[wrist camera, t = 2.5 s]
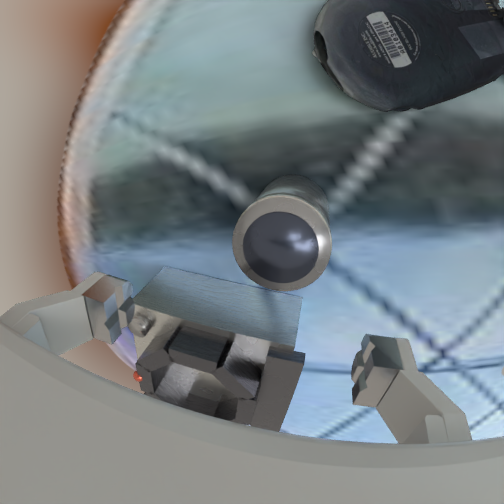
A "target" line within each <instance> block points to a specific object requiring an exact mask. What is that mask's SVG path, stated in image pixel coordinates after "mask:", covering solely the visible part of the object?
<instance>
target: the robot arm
mask: <svg viewBox="0 0 504 504" xmlns="http://www.w3.org/2000/svg"><path fill="white" fill-rule="evenodd" d="M132 293H133V287H132V283H131V282H130V281H127V280H123V279H120V278H117V277H114V276H111V275H107V274H104V273H101V272H94V273H93V274H91V275H90V276H89V277H87V278H86V279H85V280H84V281H82V282H81V283H80V284H79V285H77V286H76V287H75V288H74V289H72V290H71V291H68V290H66V291H63V292H59V293H55V294H51V295H48V296H44V297H40V298H36V299H32V300H29V301H25V302H21V303H18V304H15V305H14V306H13V307H12V308H10V309H9V310H8V311H7V312H6V313H4V314H3V315H2V316H1V317H0V504H504V436H502V437H495V438H488V439H480V440H472V437H471V433H470V430H469V426H468V423H467V419H466V416H465V413H464V412H463V411H462V410H461V409H460V408H459V407H458V406H457V405H455V404H454V403H453V402H452V401H451V400H450V399H449V398H448V397H447V396H446V395H445V394H444V393H443V392H442V391H441V390H440V389H439V388H438V387H437V386H436V385H435V384H434V383H433V382H432V381H431V380H430V379H429V378H428V377H427V376H426V375H424V374H423V373H422V372H418V369H417V365H416V362H415V359H414V355H413V352H412V349H411V346H410V343H409V340H408V339H404V338H395V337H394V338H391V337H384V336H377V335H371V334H366V335H365V336H364V338H363V340H362V342H361V346H362V350H361V351H359V352H358V353H357V354H356V356H355V359H354V361H353V365H352V372H351V377H352V380H353V382H354V383H355V385H354V387H353V388H352V398H353V405H361V406H368V407H377V408H376V409H377V411H378V412H379V414H380V415H381V417H382V418H383V420H384V421H385V423H386V425H387V426H388V428H389V429H390V431H391V432H392V434H393V435H394V437H395V438H396V440H397V441H398V443H399V444H388V443H366V442H352V441H341V440H331V439H323V438H315V437H308V436H301V435H295V434H289V433H283V432H277V431H272V430H267V429H262V428H257V427H253V426H248V425H244V424H240V423H235V422H231V421H227V420H223V419H220V418H216V417H212V416H209V415H205V414H202V413H198V412H195V411H192V410H188V409H185V408H182V407H179V406H176V405H173V404H170V403H167V402H164V401H161V400H158V399H155V398H153V397H150V396H147V395H145V394H142V393H139V392H137V391H134V390H131V389H129V388H127V387H124V386H122V385H119V384H117V383H114V382H112V381H110V380H108V379H105V378H103V377H101V376H99V375H96V374H94V373H92V372H90V371H88V370H86V369H84V368H82V367H80V366H78V365H75V364H73V363H71V362H69V361H67V360H65V359H64V358H62V357H60V356H58V355H60V354H63V353H65V352H67V351H69V350H71V349H73V348H75V347H77V346H79V345H81V344H83V343H86V342H88V341H90V340H92V339H93V338H95V339H98V340H101V341H104V342H106V343H109V344H113V343H114V342H115V341H116V339H117V338H118V337H119V336H120V335H121V328H124V327H127V326H128V325H129V324H130V323H131V321H132V319H133V316H134V312H135V304H134V301H133V300H132V298H131V297H130V296H131V294H132Z"/></svg>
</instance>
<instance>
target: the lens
mask: <svg viewBox="0 0 504 504" xmlns="http://www.w3.org/2000/svg"><path fill="white" fill-rule="evenodd" d="M232 246H233V252H234V256H235V259H236V261H237V263H238V265H239V267H240V268H241V270H242V271H243V272H244V273H245V274H246V276H248V277H249V278H250V279H251V280H252V281H254V282H255V283H257V284H259V285H260V286H263V287H265V288H268V289H271V290H276V291H293V290H298V289H301V288H303V287H306V286H308V285H309V284H311V283H313V282H314V281H315V280H316V279H318V278H319V276H320V275H321V274H322V273H323V271H324V270H325V268H326V266H327V264H328V262H329V259H330V255H331V249H332V238H331V230H330V218H329V205H328V200H327V197H326V195H325V193H324V191H323V190H322V189H321V187H320V186H319V185H318V184H317V183H315V182H314V181H313V180H311V179H309V178H307V177H304V176H301V175H285V176H281V177H279V178H277V179H275V180H273V181H272V182H271V183H270V184H269V185H268V186H267V187H266V188H265V189H264V190H263V191H262V193H261V194H260V195H259V196H258V197H257V198H256V200H255V201H254V202H253V203H252V204H251V205H250V206H249V207H248V208H247V209H246V210H245V211H244V212H243V214H242V215H241V217H240V218H239V220H238V222H237V224H236V226H235V229H234V232H233V238H232Z"/></svg>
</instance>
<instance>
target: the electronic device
mask: <svg viewBox="0 0 504 504" xmlns="http://www.w3.org/2000/svg"><path fill="white" fill-rule="evenodd" d="M498 3H499V0H328V1H327V3H326V4H324V6H323V8H322V9H321V11H320V13H319V14H318V17H317V19H316V22H315V27H314V45H315V47H314V50H313V53H312V54H313V55H314V56H315V57H317V58H318V60H319V61H320V63H321V64H322V66H323V68H324V69H325V71H326V72H327V74H328V75H329V76H330V78H331V79H332V80H333V82H334V83H335V84H336V86H337V87H339V88H340V89H341V90H342V91H343V92H344V93H346V94H347V95H348V96H350V97H352V98H354V99H355V100H357V101H359V102H361V103H363V104H365V105H367V106H369V107H371V108H374V109H377V110H380V111H385V112H388V111H390V110H396V111H406V110H409V109H410V108H414V109H423V108H425V107H428V106H432V105H435V104H438V103H441V102H444V101H447V100H450V99H453V98H456V97H458V96H461V95H463V94H466V93H468V92H471V91H473V90H475V89H477V88H480V87H482V86H484V85H486V84H488V83H490V82H492V81H495V80H496V79H497V78H498V77H499V76H501V75H502V74H504V8H503V7H502V9H501V8H500V6H499V5H498ZM325 44H326V48H327V51H326V49H325Z"/></svg>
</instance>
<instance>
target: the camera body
mask: <svg viewBox="0 0 504 504" xmlns="http://www.w3.org/2000/svg"><path fill="white" fill-rule="evenodd" d="M302 298H303V297H299V296H294V295H289V294H284V293H280V292H275V291H270V290H266V289H261V288H257V287H252V286H248V285H243V284H239V283H234V282H230V281H226V280H221V279H217V278H213V277H208V276H204V275H200V274H196V273H191V272H187V271H183V270H179V269H175V268H171V267H167V266H165V267H164V268H163V269H162V270H161V271H160V272H159V273H158V274H157V275H156V276H155V277H154V278H153V279H152V280H151V281H150V282H149V283H148V284H147V285H146V286H145V287H144V288H143V289H142V290H141V291H140V292H139V293H138V294H137V295H136V296H135V297H134V298H133V299H132V300H133V301H134V304H135V312H134V316H133V319H132V321H131V323H130V324H129V325H128V327H129V329H130V331H131V332H132V333H133V334H134V340H135V346H136V352H137V358H138V360H137V363H136V368H137V371H135V372H134V374H133V377H134V379H135V380H136V381H138V382H139V383H140V387H141V390H142V391H144V392H145V393H144V394H145V395H147V396H150V397H153V398H155V399H158V400H161V401H164V402H167V403H170V404H173V405H176V406H179V407H182V408H185V409H188V410H192V411H195V412H198V413H202V414H205V415H209V416H212V417H216V418H220V419H223V420H227V421H231V422H235V423H240V424H244V425H251V426H253V427H257V428H262V429H267V430H272V431H277V432H279V431H280V428H281V425H282V423H283V420H284V418H285V415H286V413H287V410H288V407H289V405H290V402H291V399H292V397H293V394H294V391H295V388H296V386H297V383H298V380H299V377H300V374H301V371H302V368H303V366H304V361H305V353H301V352H296V351H294V348H295V343H296V337H297V330H298V324H299V318H300V311H301V305H302Z"/></svg>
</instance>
